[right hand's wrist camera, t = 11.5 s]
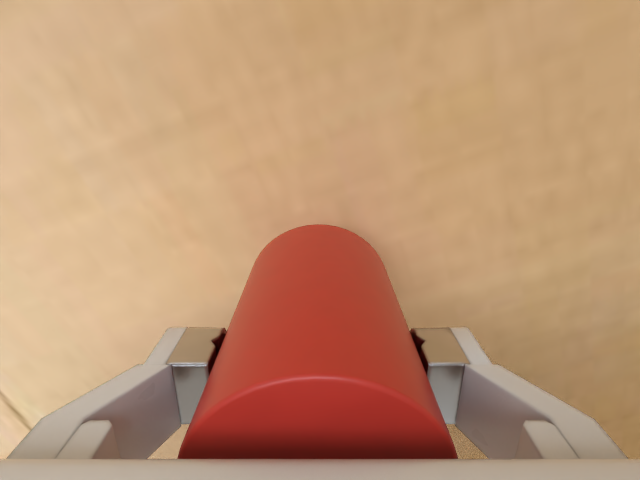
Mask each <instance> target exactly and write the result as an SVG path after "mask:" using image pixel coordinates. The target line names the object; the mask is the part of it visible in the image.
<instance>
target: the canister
mask: <svg viewBox="0 0 640 480" xmlns="http://www.w3.org/2000/svg"><path fill="white" fill-rule="evenodd" d="M178 459H458V457H457V453H456V450H455V447H454V444H453V441H452V439H451V436H450V434H449V431H448V429H447V426H446V424H445V421H444V418H443V416H442V413H441V411H440V408H439V406H438V403H437V400H436V398H435V395H434V393H433V390H432V388H431V385H430V382H429V380H428V377H427V375H426V372H425V370H424V367H423V364H422V362H421V359H420V357H419V354H418V352H417V349H416V346H415V344H414V341H413V339H412V336H411V334H410V331H409V329H408V326H407V323H406V321H405V318H404V316H403V313H402V311H401V308H400V305H399V303H398V300H397V298H396V295H395V293H394V290H393V287H392V285H391V282H390V280H389V277H388V275H387V272H386V269H385V267H384V265H383V263H382V261H381V258H380V257H379V255H378V254H377V252H376V251H375V250H374V249H373V248H372V247H371V245H370V244H369V243H367V242H366V241H365V240H364V239H362V238H361V237H359V236H358V235H356V234H355V233H352V232H350V231H348V230H346V229H343V228H339V227H336V226H330V225H307V226H302V227H298V228H295V229H292V230H289V231H287V232H285V233H283V234H281V235H280V236H278V237H277V238H275V239H274V240H272V241H271V242H270V243H269V244H268V245H267V246H266V247H265V248H264V249H263V250H262V252H261V253H260V254H259V256H258V258H257V259H256V261H255V263H254V266H253V268H252V270H251V273H250V275H249V278H248V280H247V283H246V285H245V288H244V290H243V293H242V295H241V298H240V300H239V303H238V305H237V308H236V310H235V313H234V315H233V318H232V320H231V323H230V325H229V328H228V330H227V333H226V335H225V338H224V340H223V343H222V345H221V348H220V350H219V353H218V355H217V358H216V360H215V363H214V365H213V368H212V370H211V373H210V375H209V378H208V380H207V383H206V385H205V388H204V390H203V393H202V395H201V398H200V400H199V403H198V405H197V408H196V410H195V413H194V415H193V418H192V420H191V423H190V425H189V428H188V430H187V433H186V435H185V438H184V440H183V443H182V445H181V448H180V451H179V455H178Z"/></svg>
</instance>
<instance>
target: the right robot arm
mask: <svg viewBox="0 0 640 480" xmlns="http://www.w3.org/2000/svg"><path fill="white" fill-rule="evenodd" d="M226 333H227V331H226V330H225V328H204V327H189V328H188V327H171V328H168V329H167V330H166V332H165V333H164V335H163V336H162V338H161V339H160V341H159V342H158V343H157V345H156V346H155V348H154V349H153V351H152V352H151V354H150V355H149V357H148V358H147V360H146V361H145V363H144V364H138V365H136V366H134V367H132V368H130V369H129V370H127V371H125V372H123V373H122V374H120V375H118V376H116V377H114V378H113V379H111V380H109V381H107V382H106V383H104V384H102V385H100V386H98V387H97V388H95V389H93V390H91V391H90V392H88V393H86V394H84V395H82V396H81V397H79V398H77V399H75V400H74V401H72V402H70V403H68V404H66V405H65V406H63V407H61V408H59V409H58V410H56V411H54V412H52V413H50V414H49V415H47V416H45V417H43V418H42V419H41V420H40V421H39V422H38V423H37V424H36V425H35V426H34V428H33V429H32V430H31V431H30V432H29V433H28V434H27V436H26V437H25V438H24V439H23V440H22V441H21V442H20V443H19V445H18V446H17V447H16V448H15V449H14V450H13V451H12V453H11V454H10V455H9V456H8V457H7V458H6V459H0V480H640V459H628V458H627V456H626V455H625V454H624V453H623V452H622V451H621V449H620V448H619V447H618V446H617V445H616V444H615V443H614V441H613V440H612V439H611V438H610V437H609V436H608V434H607V433H606V432H605V431H604V430H603V429H602V427H601V426H600V425H599V424H598V423H597V422H596V420H595V419H593V418H591V417H590V416H588V415H586V414H584V413H583V412H581V411H579V410H577V409H576V408H574V407H572V406H570V405H569V404H567V403H565V402H563V401H562V400H560V399H558V398H556V397H555V396H553V395H551V394H549V393H548V392H546V391H544V390H542V389H541V388H539V387H537V386H535V385H534V384H532V383H530V382H528V381H527V380H525V379H523V378H521V377H520V376H518V375H516V374H514V373H512V372H511V371H509V370H507V369H505V368H504V367H502V366H500V365H498V364H492V363H491V361H490V360H489V358H488V357H487V355H486V354H485V352H484V351H483V349H482V348H481V346H480V345H479V343H478V342H477V340H476V339H475V337H474V336H473V334H472V333H471V331H470V330H469V328H467V327H448V328H411V331H410V334H411V336H412V339H413V341H414V344H415V346H416V349H417V352H418V354H419V357H420V359H421V362H422V364H423V367H424V370H425V372H426V375H427V377H428V380H429V382H430V385H431V388H432V390H433V393H434V395H435V398H436V400H437V403H438V406H439V408H440V411H441V413H442V416H443V418H444V421H445V424H455V426H456V427H457V428H458V429H459V430H460V431H461V432H462V433H463V434H464V435H465V436H466V437H467V438H468V439H469V440H470V441H471V442H472V443H473V444H474V445H476V446H477V447H478V448H479V449H480V450H481V451H482V452H483V453H484V454H485V455H486V456H487V457H488V458H489V459H147V458H148V457H149V456H150V455H151V454H152V453H153V452H155V451H156V450H157V449H158V448H159V447H160V446H161V445H162V444H163V443H164V442H165V441H166V440H167V439H168V438H169V437H170V436H171V435H172V434H173V433H174V432H175V431H176V430H177V429H179V428H180V427H181V424H190V423H191V420H192V418H193V415H194V413H195V410H196V408H197V405H198V403H199V400H200V398H201V395H202V393H203V390H204V388H205V385H206V383H207V380H208V378H209V375H210V373H211V370H212V368H213V365H214V363H215V360H216V358H217V355H218V353H219V350H220V348H221V345H222V343H223V340H224V338H225V335H226Z"/></svg>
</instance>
